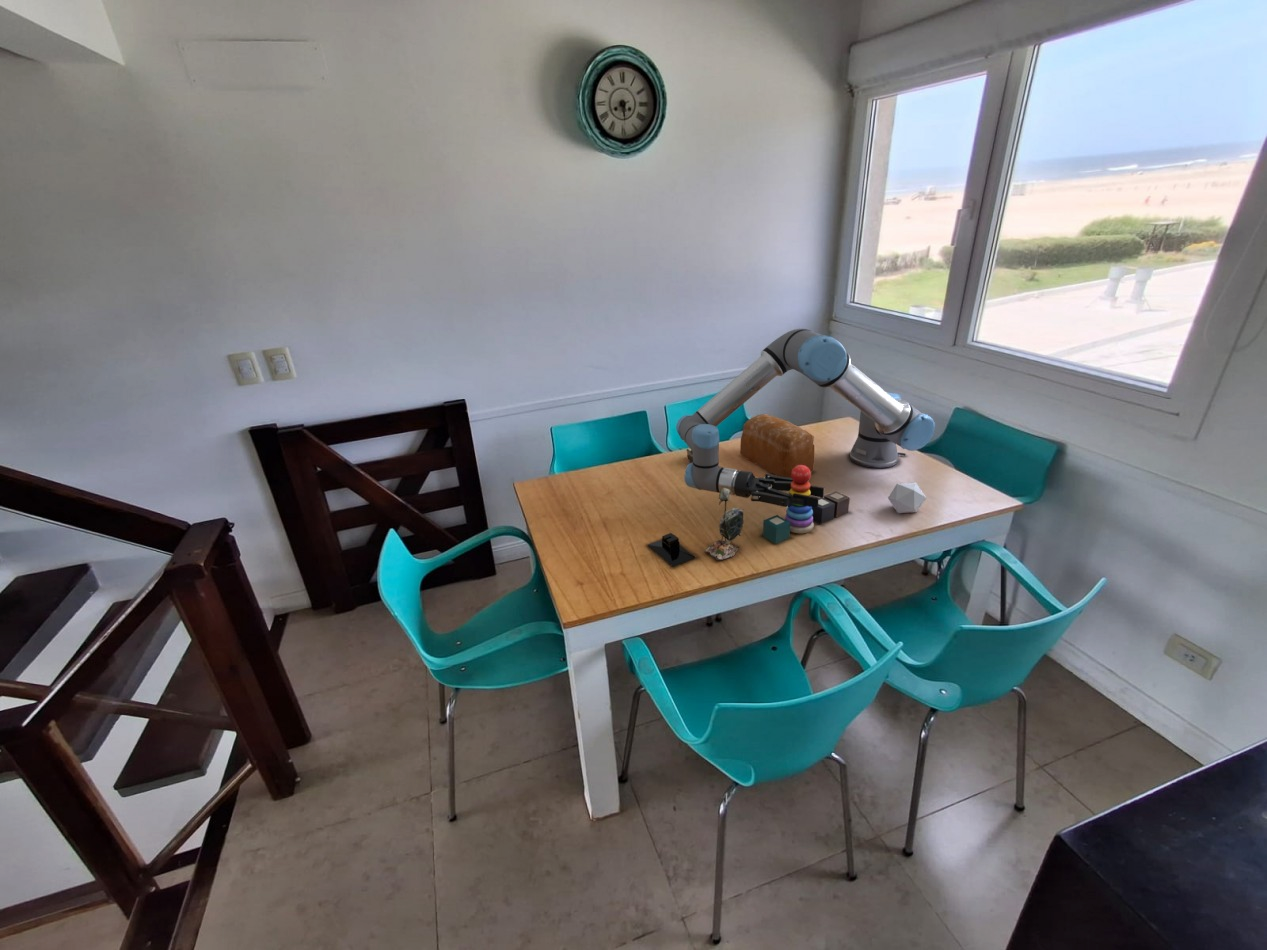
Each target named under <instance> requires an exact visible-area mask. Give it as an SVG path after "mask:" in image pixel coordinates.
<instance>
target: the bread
mask: <svg viewBox="0 0 1267 950" xmlns="http://www.w3.org/2000/svg"><path fill="white" fill-rule="evenodd" d="M814 439H815V436H814V435H813V434H811V433H810V432H809V431H808V430H805V429H803V428H802V427H800V426H798V425H796V424H794V423H792V422H791V421H788V420H786V419H782V418H780V417H776V416H773V415H770V414H768V413H767V414H766V413H763V414H762V413H761V414H757V415H755V416H752V417H751V418H749V419H748V420H747V421H746V422H745V423H744V424H743V426H742V433H741V436H740V449H739V450H740V451H739V452H740V455H741V456H742V457H743V458H745V459H746V460H748V461H750V462H751V463H754V464H755V465H758V466H759V467H760V468H762V469H764V470H766V471H767V472H769V473H770V474H772V475H774V476H781V477H788V478H792V477H791V472H792V469H793V468H794V467H796V466H798V465H804V466H806V467H808V468H809V470H810V472H811V473H812V472H813V471H814V467H815V466H814V465H815V444H814Z"/></svg>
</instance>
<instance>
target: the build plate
mask: <svg viewBox="0 0 1267 950" xmlns="http://www.w3.org/2000/svg"><path fill="white" fill-rule="evenodd" d="M647 547H648V548H650V549H651V550H652V551H653V552H654V553H656V554H657V555H658V556H659V557H660V558H661V559H663V561H665V562H666V563H667V564H669V565H670V567H672V568H675V567H677V566H680V565H682V564H685V563H688V562H690V561H692V560H694V559H696V556H695V555H694V554H692V553H691V552H690V551H688V550H687V549H686V548H685V547H683V546H682V545H681V544H680V539H679V537H677V536H676V535H675V534H673V532H669V533H667V534H664V535H662V536H661V539H659V540H656V541H654V542H651V543H649V544H647Z"/></svg>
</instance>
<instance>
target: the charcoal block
mask: <svg viewBox="0 0 1267 950" xmlns="http://www.w3.org/2000/svg"><path fill="white" fill-rule="evenodd" d="M818 498H819V500H818V508H815V507H812V510H813V514H812V516H813V522H816V523H818V524H820V525H822V524H825V523H827V522H830V521H832V520H834V519H835V517H834V509H835V503H833V502H831V501H829V500H827V499H825V498H824V497H823V498H822V497H818Z"/></svg>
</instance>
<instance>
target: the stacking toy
mask: <svg viewBox="0 0 1267 950" xmlns="http://www.w3.org/2000/svg"><path fill="white" fill-rule="evenodd" d="M811 476H812V472H810V470H809V468H808V467H806V466H804V465H798V466H796V467H794V468H793V469H792V472H791V477H792V479H793V482H792V483H791V489H790V491H788V492H789V493H788V494H791V495H792V496H793V494H794V493H795V494H801V495H806V496H811V495H810V494H811V492H810V490H809V489H810V485H811V483H810V482H809V481H810V479H811ZM785 512H786V513H785V516H784V519H786V520H787V521H789V522H790V533H794V534H807V533H809V532H811V531H812V530H814V527H815V524H814V520H813V516H812V514H813V510H812V507H809V506H804V505H798V504H793V503H792V506H791V507H788V505H787V507H786V511H785Z"/></svg>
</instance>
